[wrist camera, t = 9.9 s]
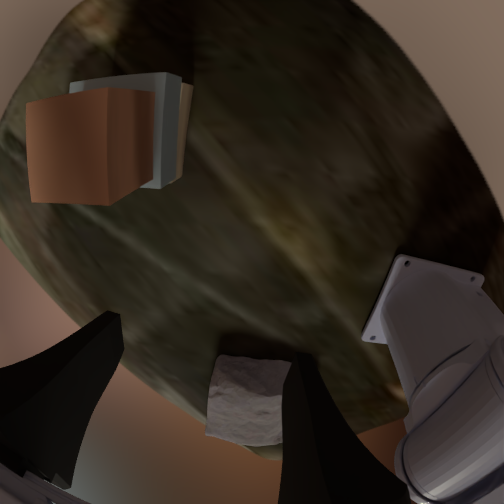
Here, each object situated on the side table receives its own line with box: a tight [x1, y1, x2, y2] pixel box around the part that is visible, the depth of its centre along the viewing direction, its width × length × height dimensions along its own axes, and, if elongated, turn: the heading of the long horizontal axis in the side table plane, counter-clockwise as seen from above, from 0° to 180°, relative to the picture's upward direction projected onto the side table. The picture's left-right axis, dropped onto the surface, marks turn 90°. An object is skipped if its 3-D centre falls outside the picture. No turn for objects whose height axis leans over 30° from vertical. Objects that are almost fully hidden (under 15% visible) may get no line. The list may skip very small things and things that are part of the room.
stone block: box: [205, 355, 291, 446], centre depth 27 cm, size 12×5×10 cm
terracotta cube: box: [26, 87, 155, 206], centre depth 12 cm, size 4×4×4 cm
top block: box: [70, 72, 182, 189], centre depth 15 cm, size 6×6×2 cm
